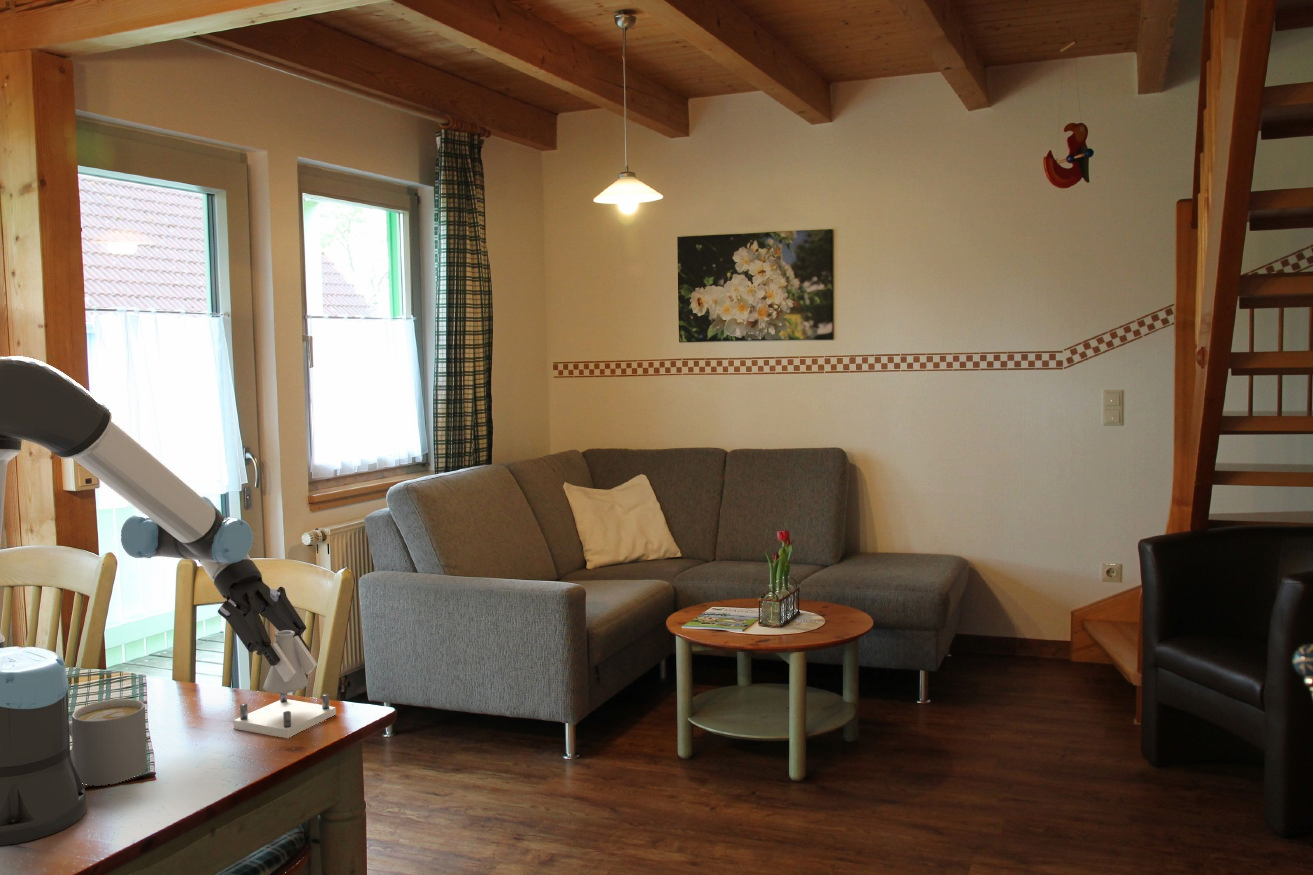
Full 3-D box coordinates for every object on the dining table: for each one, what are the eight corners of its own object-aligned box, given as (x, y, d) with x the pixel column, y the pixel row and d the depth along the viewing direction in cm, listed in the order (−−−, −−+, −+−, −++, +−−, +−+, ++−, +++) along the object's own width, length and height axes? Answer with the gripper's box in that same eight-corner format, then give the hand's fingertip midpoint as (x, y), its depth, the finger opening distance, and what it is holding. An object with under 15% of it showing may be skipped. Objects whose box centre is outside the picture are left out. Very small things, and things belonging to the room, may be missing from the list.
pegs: (287, 728, 172) (287, 713, 172) (238, 719, 176) (238, 705, 176) (330, 707, 182) (330, 694, 182) (283, 699, 186) (283, 686, 186)
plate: (288, 738, 172) (287, 729, 171) (233, 728, 176) (233, 719, 176) (335, 715, 183) (335, 707, 182) (283, 706, 187) (283, 698, 187)
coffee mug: (160, 760, 162) (157, 699, 161) (123, 786, 152) (120, 721, 151) (80, 757, 163) (77, 697, 162) (38, 783, 153) (35, 719, 152)
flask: (254, 691, 178) (253, 635, 177) (286, 679, 184) (284, 625, 183) (285, 697, 174) (284, 640, 174) (316, 684, 181) (315, 629, 180)
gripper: (260, 574, 192) (327, 671, 186) (181, 593, 177) (251, 700, 171) (279, 549, 189) (348, 647, 183) (200, 566, 174) (272, 674, 168)
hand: (301, 672), depth 177 cm, fingers closed on flask, 4 cm apart
